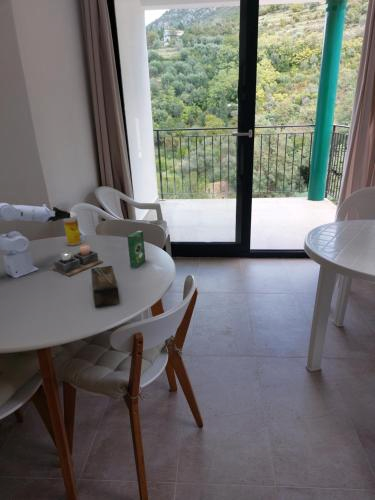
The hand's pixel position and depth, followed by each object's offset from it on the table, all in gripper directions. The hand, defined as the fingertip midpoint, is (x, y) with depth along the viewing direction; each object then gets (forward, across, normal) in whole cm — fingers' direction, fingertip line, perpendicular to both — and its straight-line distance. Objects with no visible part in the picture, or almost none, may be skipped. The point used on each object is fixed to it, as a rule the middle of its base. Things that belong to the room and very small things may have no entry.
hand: (66, 215), depth 140 cm
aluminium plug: (-2, -8, +18) cm, 20 cm away
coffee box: (+20, -24, +19) cm, 37 cm away
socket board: (+2, -7, +20) cm, 22 cm away
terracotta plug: (+6, -7, +16) cm, 18 cm away
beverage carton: (0, -34, +28) cm, 44 cm away
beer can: (+12, +19, +12) cm, 25 cm away
